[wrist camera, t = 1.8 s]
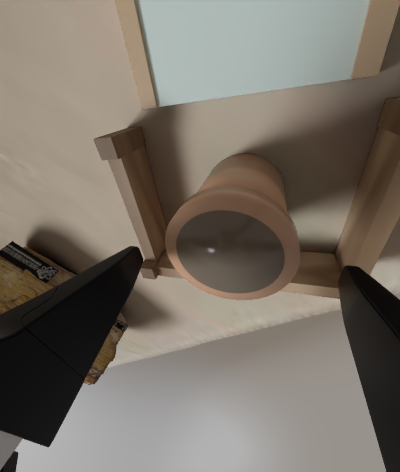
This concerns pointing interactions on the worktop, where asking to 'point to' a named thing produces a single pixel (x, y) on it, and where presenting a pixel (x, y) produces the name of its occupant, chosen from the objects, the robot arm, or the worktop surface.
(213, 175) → the terracotta pot
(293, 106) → the worktop surface
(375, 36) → the lid pane
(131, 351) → the worktop surface
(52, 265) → the petrified wood
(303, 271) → the frame
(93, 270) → the robot arm
